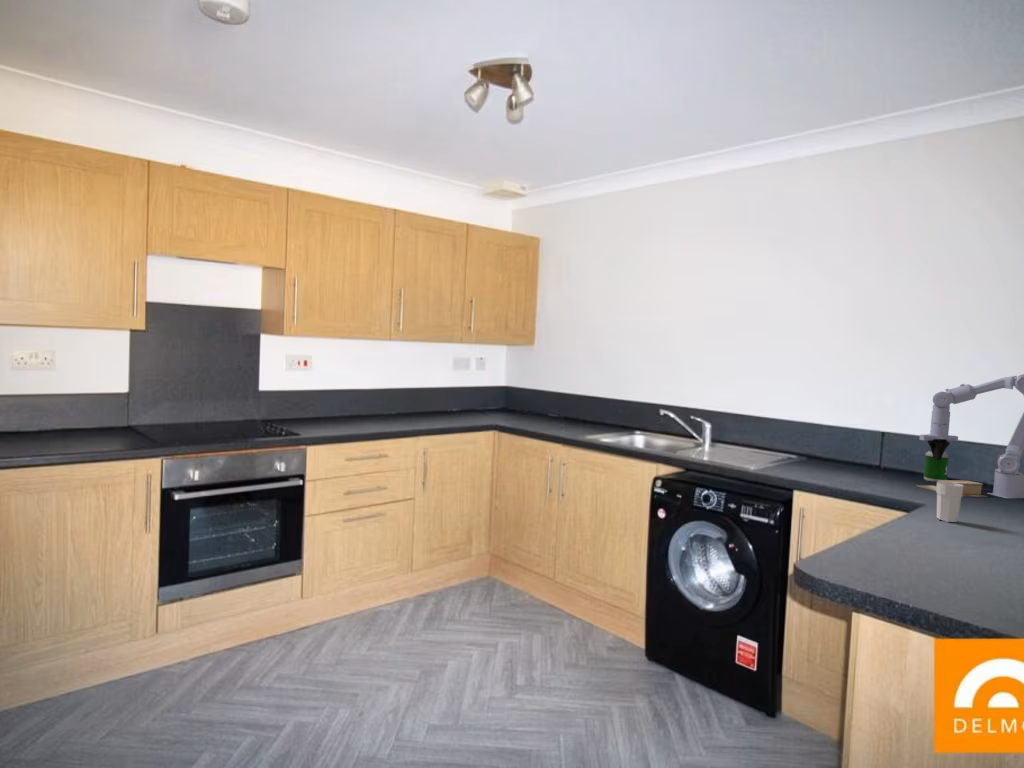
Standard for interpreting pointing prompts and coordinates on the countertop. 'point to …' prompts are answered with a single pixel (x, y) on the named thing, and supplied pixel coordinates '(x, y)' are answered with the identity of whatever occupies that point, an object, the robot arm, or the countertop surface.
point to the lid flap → (961, 482)
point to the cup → (948, 500)
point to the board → (936, 490)
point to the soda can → (935, 467)
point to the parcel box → (971, 489)
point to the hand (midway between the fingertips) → (936, 459)
